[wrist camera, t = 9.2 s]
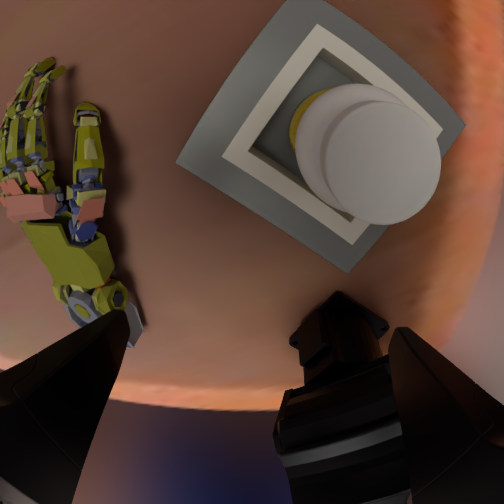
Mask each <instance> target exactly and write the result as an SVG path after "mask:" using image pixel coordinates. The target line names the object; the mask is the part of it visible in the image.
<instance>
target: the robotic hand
mask: <svg viewBox="0 0 504 504" xmlns="http://www.w3.org/2000/svg"><path fill="white" fill-rule="evenodd" d="M54 64H55V60H54V59H53V58H52V57H50V58H47V59H45V60H43V61H42V62H37V63H36V64H34V65H33V66H31V67H30V68H29V70H28V71H27V73H26V74H25V76H24V77H25V80H24V81H23V82H22V84H21V85H20V86H19V88H18V89H17V91H16V92H15V93H16V94H15V95H14V96H13V97H12V98H11V99H10V101H9V102H8V103H7V107H8V108H7V109H8V110H7V111H6V114H5V116H4V118H3V120H2V123H1V125H0V186H1V188H2V190H3V192H2V193H1V197H0V201H1V203H2V204H3V206H4V207H6V208H7V219H9V220H10V221H12V222H13V223H16V222H17V221H20V222H22V221H24V222H22V223H20V224H21V226H22V228H23V230H24V231H25V233H26V235H27V237H28V239H29V240H30V242H31V244H32V246H33V247H34V249H35V251H36V252H37V254H38V255H39V257H40V258H41V260H42V261H43V263H44V264H45V266H46V267H47V268H48V270H49V271H50V273H51V275H52V277H53V279H54V280H55V281H54V283H53V285H52V288H53V291H54V294H55V297H56V299H57V300H59V301H60V302H61V303H62V304H64V306H65V309H66V311H67V314H68V317H69V319H70V320H71V321H72V322H73V323H74V324H75V325H76V326H77V327H78V328H81V327H83V326H85V325H87V324H88V323H90V322H92V321H93V320H95V319H97V318H99V317H100V316H102V315H104V314H106V313H107V312H109V311H111V310H113V309H119V310H124V311H125V312H126V315H127V318H128V322H129V326H130V337H129V340H128V344H127V347H129V348H131V347H132V348H134V345H135V344H136V342H137V340H138V338H139V337H140V335H141V333H142V332H143V331H144V329H143V326H142V323H141V320H140V317H139V314H138V311H137V308H136V307H135V306H134V305H133V304H132V303H131V302H130V301H129V296H128V292H127V289H126V288H125V287H124V286H123V285H122V283H121V282H120V281H116V280H115V279H110V277H109V276H110V274H111V273H112V271H113V269H114V267H115V264H114V262H113V259H112V256H111V253H110V250H109V247H108V244H107V241H106V238H105V235H103V234H101V233H99V232H98V231H96V230H97V228H98V225H96V221H97V218H99V217H103V210H104V203H105V198H106V189H104V185H103V184H102V170H103V169H104V156H103V151H102V145H101V139H100V133H99V127H97V126H100V123H101V118H100V113H99V110H98V109H97V108H96V107H95V106H93V105H92V104H90V103H79V104H78V106H77V107H76V110H75V115H74V120H73V123H74V125H75V126H80V127H78V128H77V129H76V134H75V146H74V156H73V185H68V186H67V199H66V197H65V195H64V193H63V191H62V189H61V188H60V187H59V186H58V187H55V184H54V181H53V178H52V176H53V175H54V174H53V171H54V170H55V169H54V160H53V161H49V162H45V161H44V159H45V158H47V157H48V148H47V141H46V133H45V125H44V118H43V116H40V118H39V119H38V120H37V119H36V117H37V116H39V115H42V114H43V113H44V110H45V108H46V106H44V105H45V104H46V100H47V95H48V89H49V86H48V85H49V83H51V82H53V81H55V80H57V78H58V77H60V76H61V75H62V74H64V73H65V72H66V71H67V68H66V67H65V66H60V67H58V68H56V69H54V70H51V71H49V72H48V73H46V74H45V75H44V76H43V77H42V79H41V80H40V81H39V82H40V83H41V85H40V86H39V87H38V89H37V90H36V92H35V93H34V95H33V96H32V91H33V86H34V81H35V80H34V77H38V76H39V75H41V74H43V73H44V72H45V71H46V70H47V69H49V68H50V67H51V66H52V65H54ZM31 96H32V97H33V98H32V99H31ZM22 114H24V115H23V117H22V118H21V119H20V117H21V116H22ZM28 119H30V121H29V122H28V121H27V120H28ZM77 119H78V120H77ZM1 126H2V127H1ZM77 131H78V132H77ZM41 158H42V161H40V160H41ZM33 161H35V162H34V163H32V165H31V166H30V167H25V166H24V165H26V164H29V163H31V162H33ZM17 167H19V168H18V169H17ZM98 168H99V173H98ZM16 169H17V170H16ZM12 172H13V173H12ZM98 177H99V181H98ZM66 200H69V206H70V208H71V212H72V214H71V213H70V212H68V211H66V210H68V207H67V205H65V201H66Z"/></svg>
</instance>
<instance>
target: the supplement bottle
mask: <svg viewBox="0 0 504 504" xmlns="http://www.w3.org/2000/svg"><path fill="white" fill-rule="evenodd" d="M289 140H290V144H291V147H292V150H293V153H294V156H295V158H296V161H297V165H298V168H299V170H300V172H301V174H302V176H303V178H304V180H305V181H306V183H307V184H308V186H309V187H310V189H311V190H312V191H313V192H314V193H315V194H316V195H317V196H318V197H319V198H320V199H321V200H322V201H324V202H325V203H327V204H328V205H330V206H331V207H333V208H335V209H337V210H340V211H343V212H347V213H349V214H351V215H352V216H354V217H355V218H357V219H359V220H361V221H364V222H367V223H371V224H377V225H389V224H395V223H399V222H402V221H404V220H406V219H408V218H410V217H412V216H413V215H415V214H416V213H418V212H419V211H420V210H421V209H422V208H423V207H424V206H425V205H426V204H427V202H428V201H429V200H430V199H431V197H432V195H433V193H434V191H435V189H436V187H437V184H438V181H439V177H440V170H441V156H440V149H439V145H438V142H437V140H436V137H435V135H434V133H433V131H432V130H431V128H430V127H429V125H428V124H427V123H426V122H425V120H424V119H423V118H422V117H421V116H419V115H418V114H417V113H416V112H414V111H413V110H411V109H410V108H408V107H407V106H406V105H405V104H404V103H403V102H402V101H401V100H400V99H399V98H398V97H396V96H395V95H393V94H392V93H390V92H389V91H387V90H384V89H382V88H380V87H376V86H373V85H368V84H345V85H341V86H337V87H333V88H329V89H326V90H322V91H318V92H316V93H313V94H312V95H310V96H308V97H307V98H305V99H304V100H303V101H302V102H301V103H300V104H299V105H298V106H297V108H296V110H295V111H294V113H293V115H292V118H291V120H290V125H289Z"/></svg>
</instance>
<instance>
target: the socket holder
mask: <svg viewBox="0 0 504 504" xmlns="http://www.w3.org/2000/svg"><path fill="white" fill-rule="evenodd" d="M345 84H368V85H373V86H376V87H380V88H382V89H384V90H387V91H389V92H390V93H392V94H393V95H395V96H396V97H398V98H399V99H400V100H401V101H402V102H403V103H404V104H405V105H406V106H407V107H408V108H410V109H411V110H413V111H414V112H416V113H417V114H418V115H419V116H421V117H422V118H423V119H424V120H425V122H426V123H427V124H428V125H429V127H430V128H431V130H432V131H433V133H434V135H435V137H436V140H437V142H438V145H439V149H440V156H441V160H442V158H443V157H444V155H445V154H446V153H447V151H448V150H449V148H450V147H451V146H452V144H453V143H454V141H455V140H456V139H457V137H458V136H459V134H460V133H461V131H462V130H463V128H464V127H465V125H466V124H465V123H464V121H463V120H462V119H461V118H460V117H459V116H458V114H457V113H456V112H455V111H454V110H453V109H452V108H451V106H450V105H449V104H448V103H447V102H446V101H445V100H444V99H443V98H442V97H441V96H440V95H439V94H438V93H437V92H436V90H435V89H434V88H433V87H432V86H431V85H430V84H429V83H428V82H427V81H426V80H425V79H424V78H422V77H421V76H420V75H419V74H418V73H417V72H416V71H415V70H414V69H413V68H412V67H411V66H410V65H409V64H407V63H406V62H405V61H404V60H403V59H402V58H401V57H400V56H398V55H397V54H396V53H395V52H394V51H392V50H391V49H390V48H389V47H388V46H386V45H385V44H384V43H383V42H381V41H380V40H379V39H378V38H376V37H375V36H374V35H373V34H371V33H370V32H369V31H367V30H366V29H365V28H363V27H362V26H360V25H359V24H358V23H356V22H355V21H353V20H352V19H351V18H349V17H348V16H346V15H345V14H343V13H342V12H340V11H339V10H337V9H336V8H334V7H333V6H331V5H329V4H328V3H326V2H325V1H323V0H286V2H285V3H284V4H283V5H282V6H281V7H280V9H279V10H278V11H277V12H276V14H275V15H274V16H273V17H272V19H271V20H270V21H269V22H268V24H267V25H266V26H265V27H264V29H263V30H262V31H261V33H260V34H259V35H258V36H257V38H256V39H255V40H254V42H253V43H252V44H251V46H250V47H249V49H248V50H247V51H246V53H245V54H244V55H243V57H242V58H241V60H240V61H239V62H238V64H237V65H236V67H235V68H234V69H233V71H232V72H231V74H230V75H229V77H228V78H227V80H226V81H225V83H224V84H223V85H222V87H221V88H220V90H219V92H218V93H217V95H216V96H215V98H214V99H213V101H212V102H211V104H210V105H209V107H208V108H207V110H206V112H205V113H204V115H203V116H202V118H201V120H200V121H199V123H198V125H197V126H196V128H195V129H194V131H193V133H192V134H191V136H190V138H189V140H188V141H187V143H186V145H185V146H184V148H183V150H182V152H181V153H180V155H179V157H178V159H177V160H176V162H175V163H176V164H178V165H180V166H181V167H183V168H185V169H186V170H188V171H189V172H191V173H193V174H194V175H196V176H198V177H199V178H201V179H202V180H204V181H206V182H207V183H209V184H211V185H212V186H214V187H215V188H217V189H219V190H220V191H222V192H223V193H225V194H226V195H228V196H230V197H231V198H233V199H234V200H236V201H238V202H239V203H241V204H242V205H244V206H245V207H247V208H249V209H250V210H252V211H253V212H255V213H256V214H258V215H259V216H261V217H263V218H264V219H266V220H267V221H269V222H270V223H272V224H273V225H275V226H276V227H278V228H279V229H281V230H283V231H284V232H286V233H287V234H289V235H290V236H292V237H293V238H295V239H296V240H298V241H299V242H301V243H302V244H304V245H305V246H307V247H308V248H310V249H311V250H313V251H314V252H316V253H317V254H319V255H320V256H322V257H323V258H325V259H326V260H328V261H329V262H330V263H332V264H333V265H335V266H336V267H338V268H339V269H341V270H342V271H344V272H345V273H347V274H348V273H349V272H350V271H351V270H352V268H353V267H354V266H355V265H356V264H357V263H358V262H359V261H360V259H361V258H362V257H363V256H364V255H365V254H366V253H367V252H368V250H369V249H370V248H371V247H372V246H373V245H374V244H375V242H376V241H377V240H378V239H379V238H380V237H381V235H382V234H383V233H384V232H385V231H386V229H387V228H388V227H389V226H390V225H391V224H389V225H377V224H371V223H367V222H364V221H361V220H359V219H357V218H355V217H354V216H352V215H351V214H349V213H347V212H343V211H340V210H337V209H335V208H333V207H331V206H330V205H328V204H327V203H325V202H324V201H322V200H321V199H320V198H319V197H318V196H317V195H316V194H315V193H314V192H313V191H312V190H311V189H310V187H309V186H308V184H307V183H306V181H305V180H304V178H303V176H302V174H301V172H300V170H299V168H298V165H297V161H296V158H295V156H294V153H293V150H292V147H291V144H290V140H289V125H290V120H291V118H292V115H293V113H294V111H295V110H296V108H297V106H298V105H299V104H300V103H301V102H302V101H303V100H304V99H305V98H307V97H308V96H310V95H312V94H313V93H316V92H318V91H322V90H326V89H329V88H333V87H337V86H341V85H345Z"/></svg>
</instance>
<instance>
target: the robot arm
mask: <svg viewBox="0 0 504 504" xmlns="http://www.w3.org/2000/svg"><path fill="white" fill-rule="evenodd" d="M338 297H340V299H338V300H337V299H336V298H338ZM384 326H385V327H384ZM382 327H384V328H382ZM389 328H390V327H389V324H388V322H387V321H385V320H383V319H382V318H380V317H379V316H377V315H376V314H374V313H373V312H371V311H370V310H368V309H367V308H365V307H364V306H362V305H361V304H359V303H357V302H356V301H354V300H353V299H351V298H350V297H348V296H347V295H345V294H344V293H342V292H335V293H334V294H333V295H332V296H331V297H330V298H329V299H328V300H327V301H326V302H325V303H324V304H323V305H322V306H321V307H320V308H319V309H317V310H316V311H315V312H314V313H313V314H312V315H311V316H310V317H309V318H308V319H307V320H306V321H305V322H304V323H303V324H302V325H301V326H300V327H299V328H298V330H297V331H296V332H295V333H294V334H293V335H292V336H291V337H290V339H289V344H290V345H291V346H292V347H294V348H296V349H298V350H299V359H300V366H302V367H303V369H304V386H303V387H300V388H296V389H289V390H286V391H285V393H284V396H283V400H282V403H281V406H280V410H279V413H278V416H277V420H276V423H275V427H274V432H273V439H274V443H275V448H276V451H277V454H278V456H279V458H280V460H281V462H282V463H283V464H284V467H285V469H286V473H287V476H288V479H289V484H290V489H291V495H292V502H293V504H407V500H408V497H409V495H410V493H411V494H412V504H504V405H502V404H501V403H500V402H499V401H497V400H496V399H494V398H493V397H492V396H491V395H490V394H488V393H487V392H486V391H485V390H483V389H482V388H481V387H480V386H479V385H478V384H475V382H474V381H473V380H472V379H470V378H469V377H468V376H467V375H466V374H465V373H463V372H462V371H461V370H460V369H458V368H457V367H456V366H455V365H454V364H453V363H451V362H450V361H449V360H448V359H447V358H445V357H444V356H443V355H442V354H441V353H439V352H438V351H437V350H436V349H434V348H433V347H432V346H431V345H429V344H428V343H427V342H426V341H425V340H423V339H422V338H421V337H420V336H418V335H417V334H416V333H415V332H413V331H412V330H411V329H410V328H408V327H397V328H396V329H395V331H394V333H393V336H392V338H391V341H390V344H389V347H388V353H389V354H387V355H385V356H383V354H382V351H381V348H380V345H379V342H378V339H379V338H380V337H382V336H383V335H384V334H385V333H386V332H387V331H388V330H389ZM129 337H130V326H129V322H128V318H127V315H126V312H125V311H124V310H119V309H113V310H111V311H109V312H107V313H106V314H104V315H102V316H100V317H99V318H97V319H95V320H93V321H92V322H90V323H88V324H87V325H85V326H83V327H81V328H80V329H78V330H76V331H74V332H73V333H71V334H69V335H67V336H66V337H64V338H62V339H61V340H59V341H57V342H55V343H54V344H52V345H50V346H49V347H47V348H45V349H43V350H42V351H40V352H38V354H35V355H33V356H31V357H30V358H28V359H26V360H24V361H23V362H21V363H19V364H17V365H15V366H13V367H11V368H9V369H7V370H5V371H3V372H1V373H0V504H72V501H73V497H74V494H75V491H76V487H77V484H78V481H79V478H80V475H81V472H82V471H81V470H82V468H83V465H84V463H85V459H86V457H87V454H88V451H89V448H90V445H91V442H92V440H93V437H94V434H95V431H96V429H97V426H98V423H99V421H100V418H101V416H102V413H103V410H104V408H105V405H106V403H107V400H108V398H109V395H110V393H111V390H112V388H113V385H114V383H115V380H116V378H117V375H118V373H119V370H120V367H121V364H122V360H123V357H124V354H125V350H126V347H127V344H128V340H129ZM293 341H296V342H293Z"/></svg>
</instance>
